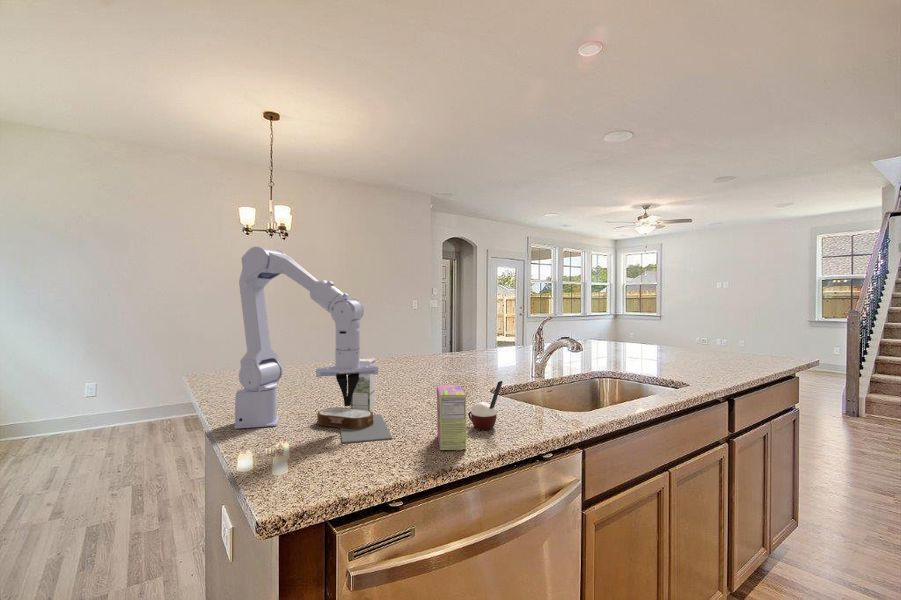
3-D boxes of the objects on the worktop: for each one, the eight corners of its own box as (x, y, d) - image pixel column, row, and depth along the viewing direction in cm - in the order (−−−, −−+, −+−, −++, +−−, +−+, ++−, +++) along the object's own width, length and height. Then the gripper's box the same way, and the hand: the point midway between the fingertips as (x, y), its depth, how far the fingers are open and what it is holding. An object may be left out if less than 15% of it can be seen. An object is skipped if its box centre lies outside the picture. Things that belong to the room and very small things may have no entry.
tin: (362, 430, 103) (379, 423, 111) (363, 416, 103) (380, 410, 111) (309, 424, 107) (329, 417, 115) (310, 411, 108) (329, 405, 116)
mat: (342, 443, 95) (342, 442, 95) (338, 418, 114) (338, 417, 114) (392, 438, 98) (392, 437, 98) (380, 415, 117) (380, 414, 117)
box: (436, 435, 100) (436, 384, 100) (461, 435, 101) (461, 384, 101) (439, 451, 90) (439, 395, 90) (466, 451, 90) (466, 394, 90)
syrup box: (375, 406, 126) (375, 357, 126) (369, 412, 120) (370, 360, 120) (356, 406, 127) (356, 356, 126) (349, 411, 121) (350, 359, 121)
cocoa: (464, 426, 109) (462, 379, 109) (485, 422, 112) (483, 376, 112) (485, 435, 100) (483, 384, 100) (507, 430, 103) (505, 380, 103)
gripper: (316, 352, 99) (315, 411, 99) (379, 350, 103) (379, 407, 103) (316, 348, 105) (316, 404, 105) (376, 346, 109) (376, 400, 110)
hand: (347, 405), depth 105 cm, fingers closed
